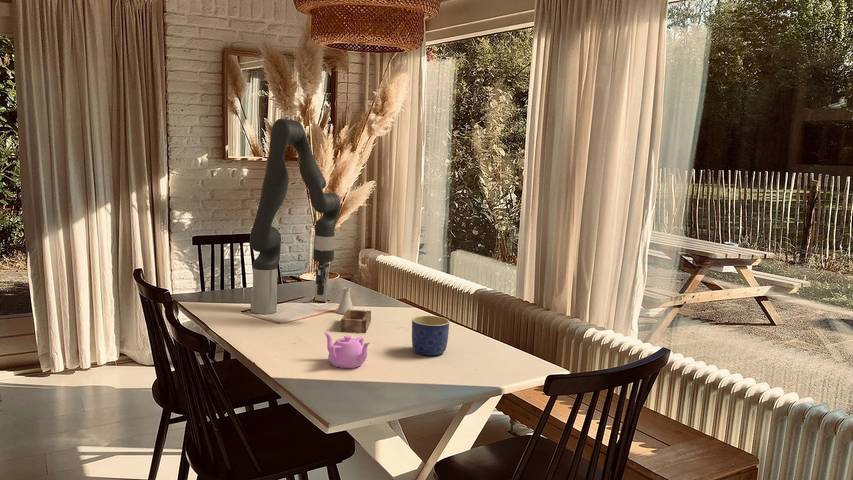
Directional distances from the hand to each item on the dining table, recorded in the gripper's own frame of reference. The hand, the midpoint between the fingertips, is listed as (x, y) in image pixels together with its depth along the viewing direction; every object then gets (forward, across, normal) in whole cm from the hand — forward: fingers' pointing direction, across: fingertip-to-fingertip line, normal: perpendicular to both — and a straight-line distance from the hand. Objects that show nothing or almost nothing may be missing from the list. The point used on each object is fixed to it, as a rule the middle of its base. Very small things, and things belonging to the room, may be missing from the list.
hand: (321, 293), depth 259 cm
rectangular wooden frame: (+11, +1, +14) cm, 18 cm away
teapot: (+11, +43, +17) cm, 48 cm away
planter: (+11, +26, +42) cm, 50 cm away
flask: (+12, -19, +7) cm, 23 cm away
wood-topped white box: (+2, 0, 0) cm, 2 cm away
